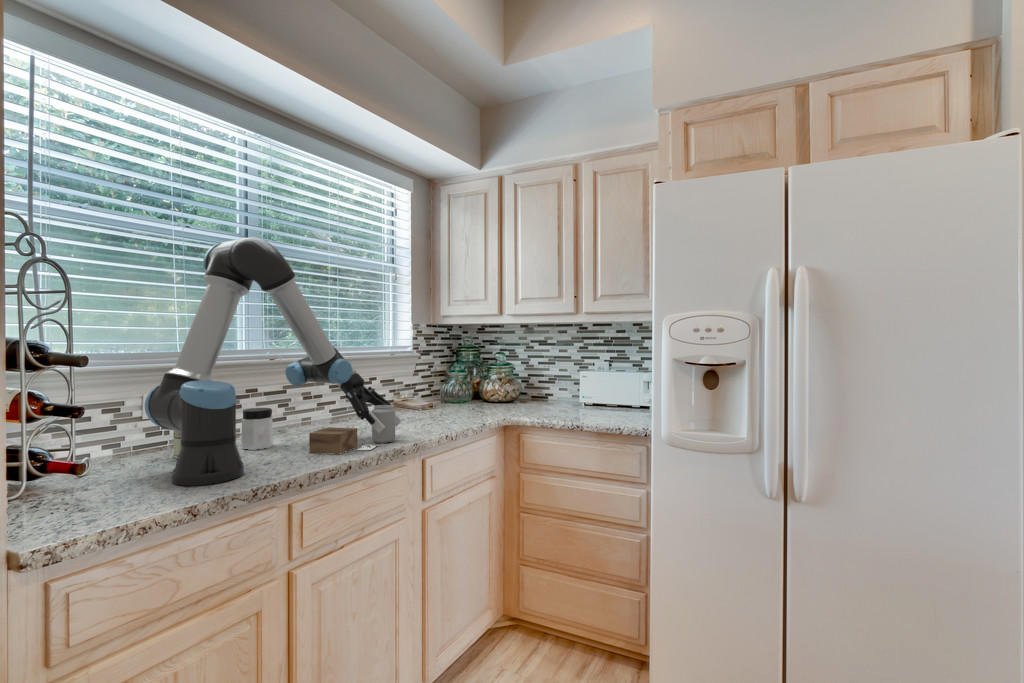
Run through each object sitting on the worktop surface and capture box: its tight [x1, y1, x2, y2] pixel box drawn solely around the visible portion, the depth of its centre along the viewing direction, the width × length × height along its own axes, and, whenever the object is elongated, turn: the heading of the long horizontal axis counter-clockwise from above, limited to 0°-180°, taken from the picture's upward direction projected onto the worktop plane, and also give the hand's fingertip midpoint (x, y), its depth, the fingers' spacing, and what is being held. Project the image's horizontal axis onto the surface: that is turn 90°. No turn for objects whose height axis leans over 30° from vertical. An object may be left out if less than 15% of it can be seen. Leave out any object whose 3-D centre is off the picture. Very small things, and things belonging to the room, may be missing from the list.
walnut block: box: [308, 426, 358, 455], centre depth 155 cm, size 10×10×6 cm
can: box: [371, 404, 396, 444], centre depth 168 cm, size 8×8×12 cm
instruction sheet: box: [362, 444, 380, 448], centre depth 158 cm, size 8×5×1 cm, turn 176°
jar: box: [241, 407, 274, 451], centre depth 160 cm, size 9×8×12 cm
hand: (390, 426), depth 167 cm, fingers open, 12 cm apart
